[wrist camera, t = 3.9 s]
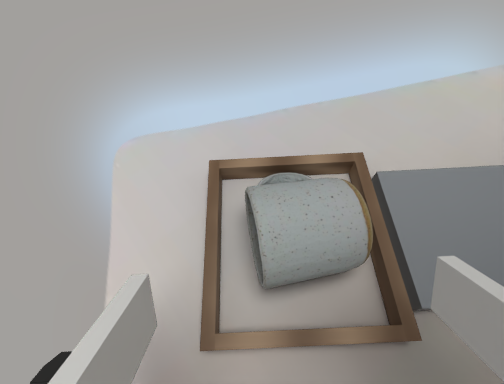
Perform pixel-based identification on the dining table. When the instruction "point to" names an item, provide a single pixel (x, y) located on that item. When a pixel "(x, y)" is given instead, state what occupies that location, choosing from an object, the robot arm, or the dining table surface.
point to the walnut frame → (381, 252)
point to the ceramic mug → (306, 228)
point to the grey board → (443, 222)
